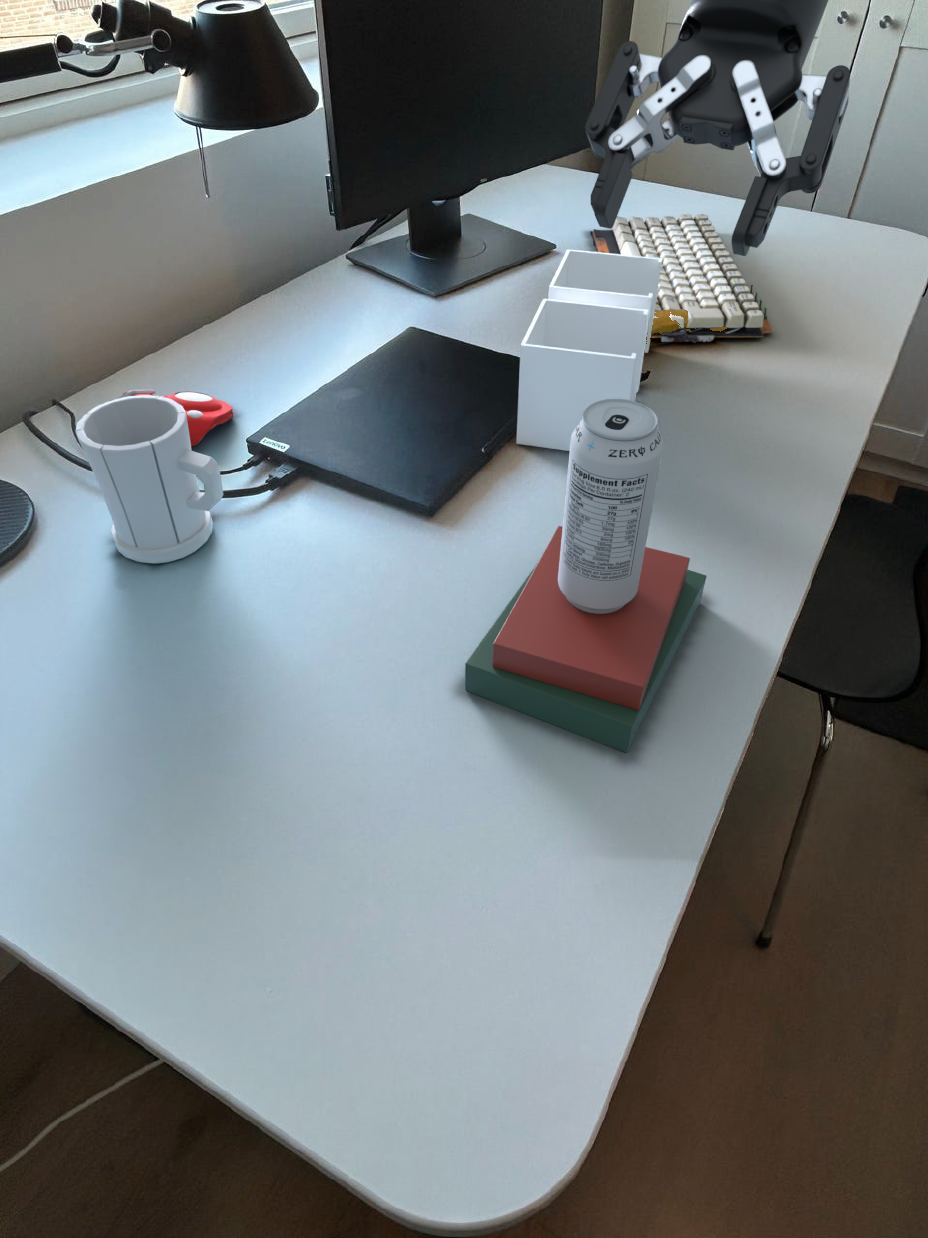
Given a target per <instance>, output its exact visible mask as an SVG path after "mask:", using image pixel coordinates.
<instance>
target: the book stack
mask: <svg viewBox="0 0 928 1238" xmlns="http://www.w3.org/2000/svg"><path fill="white" fill-rule="evenodd" d="M562 529H563V525H562V526H561V525H558V526H557V527H556V529H555V531H554V533H553V535H552V537H551V539H550V540H549V542H548V543H547V546H546V547H545V549H544V551H543V553H542V555H541V557H540V558H539V560H538V562H537V563H536V564H535V566H534V567H533V569H532V570H531V571H530V573H529V574H528V576H527V577H526V578H525V580H524V581H523V582H522V584H521V585H520V586H519V588H518V589H517V591H516V592H515V594H514V595H513V596H512V598H511V599H510V601H508V603H507V604H506V606H505V607H504V609H503V610H502V612H501V613H500V614H499V616H498V617H497V619H496V620H495V622H494V623H493V624H492V626H491V627H490V628H489V630H488V631H487V633H486V634H485V636H484V637H483V638H482V640H480V642H479V643H478V645H477V646H476V648H475V649H474V651H473V652H472V653H471V655H470V656H469V657H468V659H467V660H466V661H465V663H464V672H465V673H464V675H465V676H464V681H465V683H464V685H465V687H464V688H465V691H466V692H468V693H471V694H474V695H476V696H479V697H482V698H484V699H486V700H489V701H491V702H494V703H497V704H500V705H502V706H504V707H507V708H510V709H512V710H515V711H517V712H520V713H523V714H525V715H528V716H530V717H533V718H535V719H537V720H541V721H543V722H546V723H549V724H551V725H553V726H556V727H559V728H561V729H564V730H567V731H568V732H572V733H574V734H577V735H580V736H581V737H585V738H587V739H589V740H592V741H595V742H597V743H600V744H602V745H605V746H607V747H611V748H612V749H616V750H618V751H621V752H623V753H626V754H627V753H628V752H629V750H630V747H631V746H632V744H633V741H634V739H635V738H636V735H637V733H638V731H639V729H640V727H641V725H642V723H643V721H644V719H645V717H646V715H647V713H648V711H649V709H650V706H651V704H652V703H653V700H654V698H655V696H656V694H657V692H658V690H659V688H660V686H661V684H662V682H663V680H664V678H665V675H666V673H667V672H668V669H669V668H670V665H671V663H672V662H673V660H674V658H675V655H676V653H677V651H678V649H679V647H680V645H681V643H682V640H683V639H684V637H685V634H686V632H687V630H688V628H689V626H690V624H691V623H692V620H693V618H694V616H695V614H696V612H697V610H698V608H699V606H700V603H701V601H702V596H703V592H704V588H705V585H706V580H707V576H708V575H706V574H703V573H700V572H697V571H694V570H690V569H689V564H690V561H691V558H690V557H688V556H684V555H680V554H676V553H673V552H668V551H665V550H660V549H656V548H652V547H647V546H645V552H644V558H643V563H642V569H641V574H640V580H639V586H638V591H637V593H636V595H635V596H634V598H633V599H632V600H631V601H629V602H628V603H626V604H625V605H624V606H623V607H622V608H620V609H619V610H617V611H614V612H610V613H604V614H596V613H589V612H586V611H583V610H580V609H578V608H576V607H575V606H573V605H572V604H571V603H570V602H569V601H568V600H567V598H566V596H565V595H564V594H563V593H562V591H561V590H560V587H559V585H558V572H559V561H560V550H561V540H562Z"/></svg>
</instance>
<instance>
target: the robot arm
mask: <svg viewBox="0 0 928 1238" xmlns="http://www.w3.org/2000/svg"><path fill="white" fill-rule="evenodd" d="M829 1H830V0H690V2H689V4H688V6H687V9H686V12H685V15H684V17H683V20H682V23H681V26H680V29H679V33H678V36H677V38H676V40H675V43H674V44H673V46H672V47H671V48H670V49H669V50H668V51H667V52H666V53H665V54H664V55H663V56H662V57H661V56H656V55H650V54H647V53H646V54H645V53H640V51H639V47H638V44H637V43H636V42H635V41H633V40H627V41H625V42H623V43H621V45H620V46H619V48H618V49H617V52H616V54H615V56H614V59H613V61H612V63H611V65H610V68H609V70H608V72H607V75H606V77H605V79H604V81H603V83H602V85H601V88H600V90H599V92H598V95H597V97H596V100H595V101H594V104H593V105H592V109H591V110H590V113H589V115H588V117H587V120H586V121H585V124H584V131H585V133H586V136H587V138H588V141H589V144H590V147H591V149H592V151H593V154H594V156H595V157H596V158H598V159H603V162H602V165H601V167H600V170H599V173H598V175H597V178H596V180H595V183H594V185H593V188H592V191H591V192H590V207H591V209H592V211H593V213H594V217H595V219H596V221H597V224H598V226H599V227H600V228H605V229H608V230H612V227H613V225H614V223H615V220H616V218H617V216H619V215H618V214H619V212H620V209H621V207H622V205H623V202H624V199H625V197H626V194H627V192H628V189H629V186H630V184H631V181H632V178H633V176H634V174H633V171H632V169H634V168H635V167H636V166H638V165H639V164H641V162H643V161H645V159H647V158H648V157H649V156H651V155H652V154H654V153H655V154H659V153H662V152H664V150H666V149H667V148H669V147H670V146H671V145H672V144H674V143H675V142H676V141H677V140H679V139H680V138H682V140H683V143H684V144H689V145H694V146H697V145H706V144H710V145H712V146H714V147H717V148H718V149H721V150H729V151H734V150H735V149H736V147H739V146H742V145H745V144H746V145H747V147H748V151H749V154H750V156H751V159H752V161H753V165H754V167H755V169H756V170H757V172H758V175H759V176H757V175H755V176H754V178H753V180H752V183H751V185H750V188H749V191H748V193H747V196H746V198H745V201H744V204H743V206H742V209H741V211H740V214H739V217H738V219H737V222H736V224H735V227H734V229H733V231H732V235H731V249H732V254H733V255H737V256H742V257H746V256H747V255H748V253H749V250H750V248H755V249H758V248H759V247H760V245H761V244H762V243H763V242H764V241H765V239H766V235H767V233H768V230H769V227H770V225H771V223H772V220H773V218H774V215H775V212H776V210H777V208H778V205H779V202H780V200H781V199H782V198H783V197H784V196H785V195H787V194H788V193H792V192H795V191H802V192H803V193H804V194H813V193H816V192H818V190H820V188H821V187H822V185H823V182H824V178H825V176H826V173H827V169H828V166H829V163H830V161H831V158H832V155H833V151H834V148H835V145H836V142H837V139H838V137H839V136H838V135H839V133H840V131H841V127H842V123H843V121H844V117H845V116H846V115H845V114H846V112H847V108H848V106H849V105H848V104H849V97H850V86H851V85H850V84H851V71H850V68H849V67H848V66H847V65H842V64H839V65H836V66H833V67H832V68H830V69H829V70H828V72H827V74H826V75H822V74H808V73H807V74H806V73H805V74H804V73H803V71H802V70H803V67H804V66H805V65H804V64H805V61H806V60H807V57H808V54H809V52H810V49H811V47H812V44H813V42H814V39H815V37H816V34H817V31H818V30H819V26H820V24H821V22H822V19H823V16H824V13H825V10H826V8H827V5H828V3H829ZM654 83H659V84H660V88H659V89H657V91H655V92H653V94H651V96H650V97H648V98H647V99H646V100H644V101H643V102H642V103H641V104H640V105H639V107H638V109H637V111H636V114H635V115H633V117H631V118H630V119H629V120H627V118H628V115H629V113H630V111H631V109H632V107H633V104H634V101H635V99H636V98H637V99H641V98H642V97H644V93H645V92H646V90H647V89H648V87H649V86H651V85H652V84H654ZM799 101H801V102H803V103H804V104H805V109H806V110H805V112H806V113H805V115H806V117H807V119H808V120H809V121H811V123H810V126H809V129H808V132H807V135H806V138H805V141H804V145H803V147H802V151H801V153H800V155H796V156H791V157H790V156H789V157H785V154H784V152H783V148H782V146H781V143H780V140H779V138H778V133H777V129H776V125H775V121H777V120H778V119H779V118H780V117H782V116H783V115H785V114H786V113H787V112H788V111H790V110H791V109H792V108H793V107H794V106H795V105H796V104H797V103H798V102H799ZM666 114H668V116H669V118H668V119H666V120H665V121H663V123H662V120H663V118H664V117H665V115H666ZM626 120H627V121H626Z"/></svg>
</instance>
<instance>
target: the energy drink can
mask: <svg viewBox="0 0 928 1238" xmlns="http://www.w3.org/2000/svg"><path fill="white" fill-rule="evenodd" d="M658 423H659V419H658V416H657V414H656V413H655V411H654V410H652V409H651V408H650V407H649V406H647V405H645V404H643V403H641V402H637V401H636V400H635V401H631V400H626V399H606V400H601V401H598V402H595V403H593V404H591V405H589V406H588V407H587V408H586V409H585V410H584V412H583V416H582V420H581V422H580V423H579V424H578V425H577V427H576V428H575V429H574V431H573V433H572V436H571V443H570V451H569V453H568V454H569V455H568V456H569V457H568V464H567V465H568V466H567V477H566V486H565V487H566V488H565V499H564V507H563V508H564V509H563V518H562V519H563V520H562V527H563V529H562V540H561V550H560V561H559V572H558V585H559V587H560V590H561V591H562V593H563V594H564V595H565V596H566V598H567V600H568V601H569V602H570V603H571V604H572V605H573V606H575V607H576V608H578V609H580V610H583V611H586V612H589V613H596V614H604V613H610V612H614V611H617V610H619V609H620V608H622V607H623V606H624V605H625V604H626V603H628V602H629V601H631V600H632V599H633V598H634V596H635V595H636V593H637V591H638V586H639V580H640V574H641V569H642V563H643V558H644V552H645V547H647V546H646V545H647V540H648V536H649V535H648V534H649V529H650V523H651V518H652V512H653V506H654V501H655V496H656V489H657V484H658V478H659V473H660V467H661V462H662V461H661V460H662V456H663V450H664V440H663V437H662V435H661V432H660V430H659V428H658Z"/></svg>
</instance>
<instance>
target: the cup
mask: <svg viewBox="0 0 928 1238" xmlns="http://www.w3.org/2000/svg"><path fill="white" fill-rule="evenodd" d="M152 395H153V394H152ZM152 395H138V396H127V397H123V398H119V399H116V398H114V399H112V400H108V401H106V402H104V403H101V404H98V405H96V406H95V407H94V408H92V409H90V410H88V411H87V412H86V413H84V415H83V416H82V417H81V418H80V419H79V421H78V422H77V423H76V428H75V435H76V437H77V440H78V442H79V444H80V446H81V449H82V451H83V453H84V455H85V457H86V460H87V463H88V464H89V466H90V468H91V471H92V473H93V475H94V478H95V480H96V483H97V485H98V488H99V489H100V491H101V494H102V496H103V499H104V502H105V504H106V507H107V510H108V513H109V515H110V518H111V521H112V525H111V531H110V533H111V537H112V539H113V543H114V545H115V547H116V550H117V551H118V552H119V553H120V554H121V555H122V556H124V557H125V558H126V559H129V560H132V561H135V562H138V563H146V564H164V563H171V562H174V561H177V560H180V559H181V560H182V559H184V558H186V557H188V556H189V555H192V554H193V553H195V552H197V550H199V549H200V548H201V547H202V546H203V545H205V544H206V543H207V542H208V540H209V538H210V536H211V535H212V534H213V524H214V522H213V518H212V514H211V512H210V511H211V509H212V508H214V507H215V506H216V505H217V504H218V503H219V502H221V500H222V498H223V496H224V488H223V482H222V476H221V475H222V474H221V469H220V464H218V462H217V461H216V460H215V459H214V458H213V457H212V456H209V455H206V454H203V453H200V452H196V451H194V450H192V446H191V443H190V436H189V430H188V423H187V416H186V412H185V410H184V409H183V407H182V406H181V405H180V404H178V403H177V402H175V401H174V400H172V399H168V398H165V397H161V395H160V396H159V395H153V396H152ZM198 480H200V482H201V483H202V486H203V489H204V490H203V491H201V490H200V486H199V485H200V484H199V481H198Z"/></svg>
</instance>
